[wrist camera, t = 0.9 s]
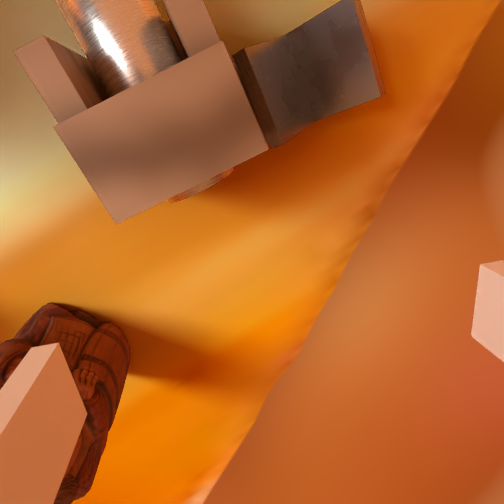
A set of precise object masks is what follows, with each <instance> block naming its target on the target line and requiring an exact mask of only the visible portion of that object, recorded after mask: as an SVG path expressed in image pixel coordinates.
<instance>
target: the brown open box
mask: <svg viewBox="0 0 504 504" xmlns="http://www.w3.org/2000/svg"><path fill="white" fill-rule="evenodd" d="M163 3H164V5H165V8H166V11H167V14H168V17H169V19H170V21H169V22H167V23H165V25H166V27H167V29H168V31H169V33H170V36H171V38H172V40H173V42H174V44H175V46H176V48H177V50H178V52H179V55H180V57H181V59H182V61H181V62H179V63H177V64H175V65H173V66H171V67H170V68H168V69H166V70H164V71H162V72H160V73H158V74H156V75H154V76H152V77H150V78H148V79H146V80H144V81H142V82H140V83H138V84H136V85H134V86H132V87H130V88H128V89H126V90H124V91H122V92H120V93H118V94H116V95H114V96H112V97H109V95H108V93H107V92H106V90H105V88H104V86H103V84H102V83H101V81H100V79H99V77H98V76H97V74H96V72H95V70H94V69H93V67H92V65H91V63H90V61H89V60H88V59H86V58H84V57H83V56H81V55H79V54H77V53H75V52H73V51H71V50H70V49H68V48H66V47H64V46H62V45H60V44H58V43H57V42H55V41H53V40H51V39H49V38H47V37H45V36H44V35H43V36H41V37H40V38H38V39H36V40H34V41H32V42H30V43H28V44H26V45H24V46H22V47H20V48H18V49H16V50H15V51H13V53H14V54H15V56H16V57H17V59H18V60H19V62H20V64H21V65H22V67H23V68H24V70H25V71H26V73H27V75H28V76H29V78H30V79H31V81H32V82H33V84H34V86H35V87H36V89H37V90H38V92H39V93H40V95H41V97H42V98H43V100H44V101H45V103H46V104H47V106H48V108H49V109H50V111H51V112H52V114H53V115H54V117H55V119H56V120H57V122H58V123H59V124H57V125H55V126H53V127H54V129H55V130H56V132H57V133H58V135H59V136H60V138H61V140H62V141H63V143H64V144H65V146H66V147H67V149H68V150H69V152H70V154H71V155H72V157H73V158H74V160H75V161H76V163H77V164H78V166H79V168H80V169H81V171H82V172H83V174H84V175H85V177H86V178H87V180H88V182H89V183H90V185H91V186H92V188H93V189H94V191H95V192H96V194H97V196H98V197H99V199H100V200H101V202H102V203H103V205H104V206H105V208H106V210H107V211H108V213H109V214H110V216H111V217H112V219H113V220H114V222H115V224H118V223H120V222H122V221H124V220H126V219H128V218H130V217H132V216H134V215H136V214H138V213H140V212H142V211H144V210H147V209H149V208H151V207H153V206H155V205H157V204H159V203H161V202H163V201H165V200H167V199H169V198H171V197H173V196H175V195H177V194H179V193H181V192H183V191H185V190H187V189H189V188H191V187H193V186H196V185H198V184H200V183H202V182H204V181H206V180H208V179H210V178H212V177H214V176H216V175H218V174H220V173H222V172H224V171H226V170H228V169H230V168H232V167H234V166H236V165H238V164H240V163H242V162H244V161H247V160H249V159H251V158H253V157H255V156H257V155H259V154H261V153H263V152H265V151H267V150H269V149H268V146H267V144H266V141H265V139H264V137H263V134H262V132H261V130H260V127H259V125H258V123H257V120H256V118H255V115H254V113H253V111H252V108H251V106H250V104H249V101H248V99H247V97H246V94H245V92H244V89H243V87H242V85H241V82H240V80H239V78H238V75H237V73H236V71H235V68H234V66H233V63H232V61H231V59H230V56H229V54H228V52H227V49H226V47H225V45H224V42H223V41H220V39H219V36H218V34H217V32H216V29H215V27H214V25H213V22H212V20H211V17H210V15H209V13H208V10H207V8H206V6H205V3H204V1H203V0H163Z"/></svg>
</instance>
